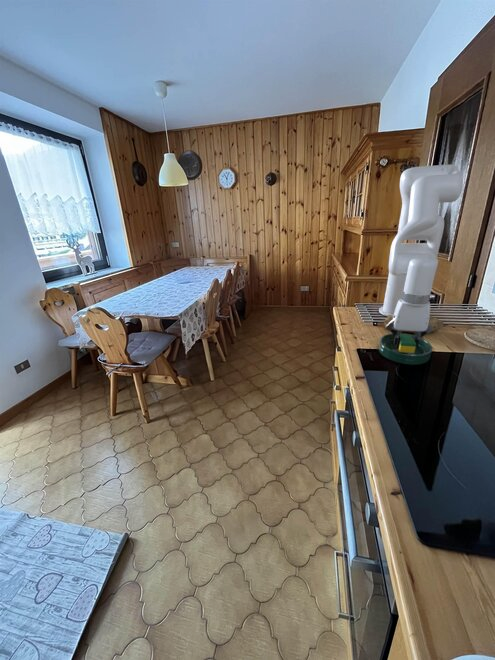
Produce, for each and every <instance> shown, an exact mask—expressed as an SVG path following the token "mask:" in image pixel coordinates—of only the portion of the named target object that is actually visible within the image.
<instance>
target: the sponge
mask: <svg viewBox="0 0 495 660" xmlns="http://www.w3.org/2000/svg"><path fill="white" fill-rule="evenodd" d="M386 317H387V318H385V319H384V322H383V323H384V324H383V325H384V328H385V329H387V328H386V325H387V324H388V323H389V322H390V321H391V320H392V319H393V315H388V316H386ZM429 324H430V326H431V327H432V329H433V331H432V332H438V331H440V330H442V329H443V328H444V324H445V322H444V321H442V320H440V318H438V317H435V316H431V315H430V317H429ZM392 328H394V325H393V326H392ZM394 329H395V328H394ZM387 330H388V329H387ZM395 330H396V329H395ZM402 332H403V333H411V334H412V333H414V334H415V331H404V330H402Z"/></svg>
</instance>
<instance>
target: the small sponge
mask: <svg viewBox="0 0 495 660" xmlns="http://www.w3.org/2000/svg"><path fill="white" fill-rule="evenodd" d="M408 334H409V333H403V334H400V343H399V348H398V349H399V352H408V353H414V351H415V347H416V343H415V341H414V339H413V337H412V335H413V334H409V335H408Z"/></svg>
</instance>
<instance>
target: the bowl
mask: <svg viewBox="0 0 495 660" xmlns="http://www.w3.org/2000/svg"><path fill="white" fill-rule="evenodd" d="M401 334H404V332H403V333H402V332H401ZM407 334H408V335H410V334H409V333H407ZM411 335H412V337H413V336H414V334H411ZM394 337H395V336H394V335H393V334H392V332H391V333H387V334H384V335H382V336H381V337H380V338H379V341H378V346H377V347H378V352H379V354H381V356H383V357H384V358H386V359H388V360H390V361H392V362H395V363H398V364H403V365H411V366H412V365H414V366H416V365H422V364H426V363H427V362H429V361H430V360H431V357H432V352H433V346H432V344H431V343H430V342H429V341H428V340H426V339H424V338H423V337H421V339H419V342H418V346H416V348H415V351H414V353H408V352H399V349H398V348H396V346H395V345H394Z"/></svg>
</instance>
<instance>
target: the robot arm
mask: <svg viewBox="0 0 495 660" xmlns="http://www.w3.org/2000/svg"><path fill="white" fill-rule="evenodd" d="M463 187H464V180H463V175H462V172H461V171H460V169H459V168H458V166H457V165H456V164H437V165H422V166H412V167H410V168H407V169H405V170H403V172H402V173H401V175H400V178H399V192H400V197H401V203H402V204H401V210H400V215H399V222H398V228H397V234H396V235H395V237H394V238H393V240H392V242H391V245H390V250H389V258H388V277H387V282H386V288H385V294H384V299H383V306H381V307H379V309H378V312H379V314H381V315H383V316H384V317H388V315H393V319H392V320H391V321H390V322H389V323H388V324H387V325H386V328H387V331H389V332H391V333H392V334H393V335H394V336H395V337H394V345H395V346H396V348H399V343H400V334H401V333H402V332H404V331H415V333H414V334H413V339H414V341H415V343H416V346H418V342H419V339H421V338H423V337H425V336H426V335H428V334H431V333H432V332H434V331H433V329H432V327H431V326H430V324H429V317H430V316H431V300H434V299H435V297H436V296H435V295H436V294H432V289H433V284H434V280H435V276H436V272H437V269H438V266H439V259H438V255H439V251H440V247H441V242H442V239H443V234H444V230H445V218H444V217H443V216H441V215H439V204H440V203H441V204H443V203H454V202H456V201H457V200H459V198H460V196H461V195H462V192H463ZM404 241H426V242H404ZM393 325H394V328H395V329H396V330H395V329H394V328H392V326H393ZM386 328H385V329H386ZM402 330H404V331H402ZM415 348H416V347H415Z"/></svg>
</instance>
